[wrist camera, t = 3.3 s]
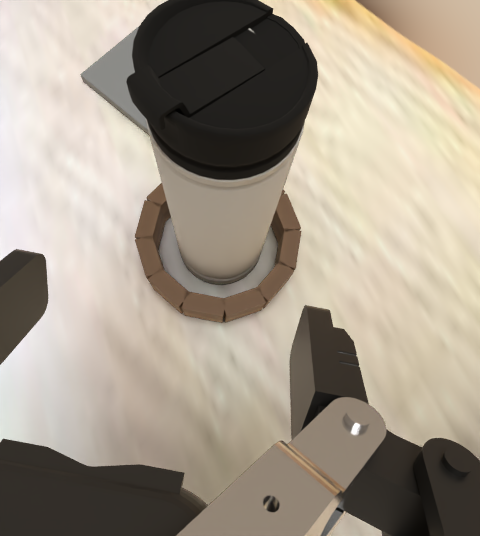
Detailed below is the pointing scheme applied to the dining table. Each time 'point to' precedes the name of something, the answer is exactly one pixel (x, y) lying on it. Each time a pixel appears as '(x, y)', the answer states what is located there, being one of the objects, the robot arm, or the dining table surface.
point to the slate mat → (116, 79)
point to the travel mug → (221, 122)
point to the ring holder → (204, 305)
